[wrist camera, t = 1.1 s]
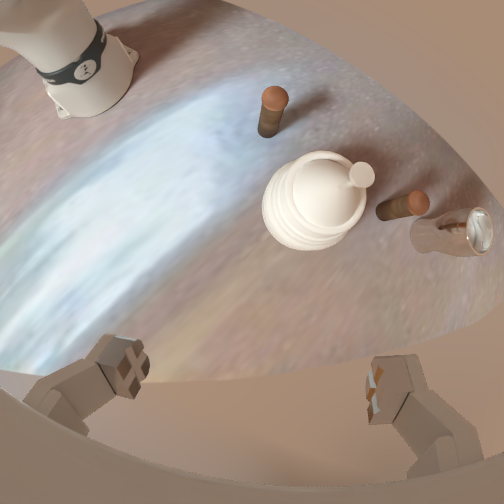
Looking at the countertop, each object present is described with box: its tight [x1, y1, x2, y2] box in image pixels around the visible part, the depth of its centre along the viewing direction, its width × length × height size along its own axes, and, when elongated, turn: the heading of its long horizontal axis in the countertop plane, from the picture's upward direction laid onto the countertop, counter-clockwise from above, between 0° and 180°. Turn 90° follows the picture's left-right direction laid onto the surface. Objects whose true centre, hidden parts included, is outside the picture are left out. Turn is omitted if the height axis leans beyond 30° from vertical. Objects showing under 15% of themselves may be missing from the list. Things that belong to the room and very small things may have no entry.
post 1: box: [258, 86, 289, 138], centre depth 37 cm, size 3×3×12 cm
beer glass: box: [410, 207, 494, 257], centre depth 37 cm, size 7×7×15 cm
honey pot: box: [262, 150, 375, 250], centre depth 35 cm, size 13×13×18 cm
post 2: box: [376, 190, 430, 221], centre depth 38 cm, size 3×3×12 cm
